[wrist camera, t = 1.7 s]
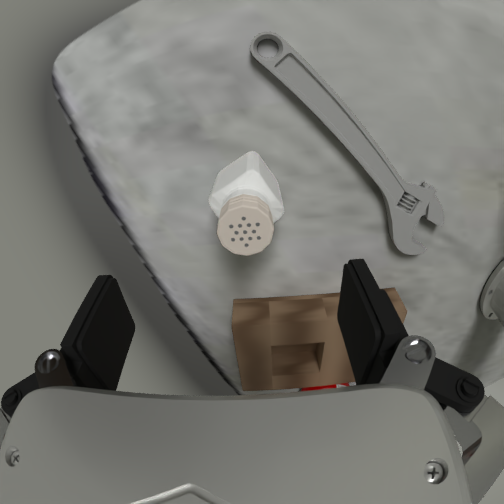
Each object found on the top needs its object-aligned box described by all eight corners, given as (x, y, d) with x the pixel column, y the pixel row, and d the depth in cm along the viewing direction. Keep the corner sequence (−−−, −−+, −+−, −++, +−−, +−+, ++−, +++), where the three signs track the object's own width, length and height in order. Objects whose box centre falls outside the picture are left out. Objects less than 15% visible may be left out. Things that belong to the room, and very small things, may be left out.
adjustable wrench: (241, 49, 19) (240, 46, 18) (303, 5, 17) (307, 0, 16) (400, 255, 29) (406, 264, 28) (445, 221, 27) (454, 229, 25)
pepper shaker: (254, 146, 23) (254, 184, 15) (281, 184, 25) (294, 240, 17) (214, 173, 25) (194, 224, 17) (242, 208, 26) (237, 272, 18)
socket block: (394, 287, 31) (407, 311, 28) (374, 354, 37) (381, 377, 34) (233, 299, 32) (231, 326, 28) (243, 366, 38) (242, 390, 35)
